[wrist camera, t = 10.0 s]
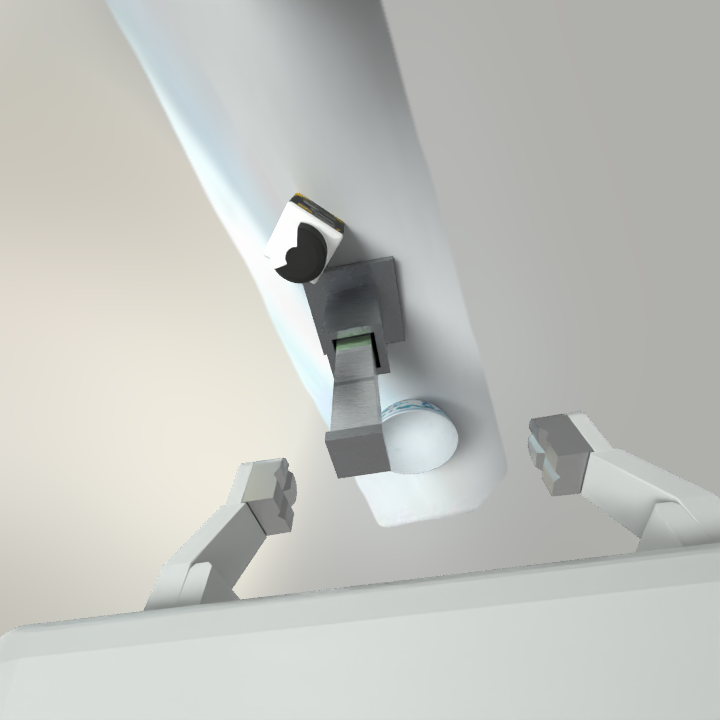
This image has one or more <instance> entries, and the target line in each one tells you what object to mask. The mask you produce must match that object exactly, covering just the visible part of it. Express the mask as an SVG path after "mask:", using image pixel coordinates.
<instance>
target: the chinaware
mask: <svg viewBox="0 0 720 720" xmlns="http://www.w3.org/2000/svg"><path fill="white" fill-rule="evenodd" d="M381 415H382V425H383V432H384V437H385V441H386V446H387V450H388V455H389V459H390V466H391V472H395V473H400V474H418V473H424V472H427V471H430V470H433V469H435V468H437V467H439V466H441V465H442V464H444V463H445V462H446V461H448V460H449V459H450V458H451V457H452V455H453V454H454V452H455V451H456V449H457V446H458V432H457V429H456V427H455V426H454V424H453V422H452V421H451V420H450V418H449V417H448V416H447V415H446V414H445V413H444V412H443V411H442V410H441V409H439V408H438V407H436V406H435V405H433V404H431V403H428V402H425V401H421V400H403V401H400V402H397V403H395V404H393V405H391V406H389V407H388V408H386V409H385V410H384V411H383V412H382V413H381Z"/></svg>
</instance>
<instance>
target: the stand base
mask: <svg viewBox="0 0 720 720" xmlns="http://www.w3.org/2000/svg"><path fill="white" fill-rule="evenodd" d="M303 286H304V289H305V293H306V296H307V299H308V303H309V306H310V309H311V313H312V316H313V319H314V323H315V326H316V329H317V333H318V336H319V339H320V343H321V346H322V349H323V353H324V355H326V354H327V356H328V359H329V363H330V366H331V370H332V373H333V376H334V374H335V360H336V346H337V339H339V338H345V337H350V336H356V335H361V334H367V333H372V334H373V339H374V347H375V357H376V367H377V375H379V374H385V373H390V367H389V361H388V355H387V348H386V344H388V343H393V342H399V341H405V335H404V329H403V322H402V315H401V308H400V302H399V295H398V288H397V281H396V274H395V268H394V261H393V257H392V256H389V257H384V258H379V259H374V260H369V261H364V262H359V263H354V264H349V265H344V266H339V267H334V268H329V269H325V270H324V271H323V272H322V274H321V276H320V277H319V279H318V281H317V282H316V283H315V284H312V283H311V282H307V283H303Z"/></svg>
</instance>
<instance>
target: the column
mask: <svg viewBox="0 0 720 720" xmlns="http://www.w3.org/2000/svg"><path fill="white" fill-rule="evenodd" d="M325 443H326V445H327V448H328V451H329V454H330V457H331V460H332V462H333V465H334V468H335V471H336V473H337V477H338V478H345V477H352V476H359V475H366V474H372V473H379V472H386V471H391V466H390V459H389V455H388V450H387V446H386V441H385V437H384V432H383V425H382V415H381V406H380V396H379V386H378V376H377V367H376V357H375V347H374V339H373V334H372V333H367V334H361V335H356V336H350V337H345V338H339V339H337V346H336V360H335V374H334V388H333V402H332V417H331V431H330V432H326V436H325Z"/></svg>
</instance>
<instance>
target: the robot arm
mask: <svg viewBox="0 0 720 720" xmlns="http://www.w3.org/2000/svg"><path fill="white" fill-rule="evenodd" d="M529 429H530V430H531V432H532V435H531V436H530V437H529V438H528V448H529V453H530V456H531V459H532V461H533V463H534V465H535V467H537V468H538V469H540V470H542V471H543V473H542V479H543V481H544V483H545V485H546V487H547V488H548V490H549V492H550V494H551V496H559V495H569V494H578V493H581V495H582V496H583V497H585V498H586V499H588V500H589V501H590V502H591V503H593V504H594V505H595V506H597V507H598V508H600V509H601V510H602V511H604V512H605V513H607V514H608V515H609V516H610V517H612V518H613V519H614V520H616V521H617V522H619V523H620V524H621V525H623V526H624V527H625V528H627V529H628V530H629V531H631V532H632V533H634V534H635V535H636V536H637V537H639V538H640V539H641V540H640V542H639V545H638V547H637V550H636V552H635V553H628V554H620V555H611V556H602V557H594V558H586V559H577V560H569V561H561V562H552V563H544V564H536V565H527V566H519V567H510V568H502V569H493V570H485V571H476V572H468V573H460V574H451V575H443V576H435V577H426V578H419V579H410V580H401V581H393V582H385V583H377V584H368V585H360V586H351V587H343V588H335V589H326V590H318V591H309V592H302V593H293V594H285V595H276V596H267V597H259V598H251V599H242V600H240V599H239V597H238V596H237V595H236V594H235V593H234V591H232V588H233V586H234V585H235V584H236V582H237V581H238V579H239V578H240V576H241V575H242V573H243V572H244V570H245V569H246V567H247V566H248V564H249V563H250V561H251V560H252V558H253V557H254V555H255V554H256V552H257V551H258V549H259V548H260V546H261V545H262V543H263V542H264V540H265V539H266V536H267V535H274V534H280V533H286V532H291V529H292V522H293V516H294V512H293V510H292V508H291V506H292V505H293V504H294V503H295V501H296V496H297V487H296V481H295V477H294V475H293V473H291V472H290V471H288V467H289V464H288V462H287V460H286V458H278V459H272V460H263V461H256V462H250V463H242V464H241V465H240V466H239V468H238V471H237V473H236V476H235V479H234V482H233V485H232V488H231V491H230V494H229V497H228V500H227V503H226V505H225V506H221V507H220V508H219V509H218V510H217V511H216V512H215V513H214V514H213V515H212V516H211V517H210V518H209V519H208V520H207V521H206V522H205V523H204V525H203V526H202V527H201V528H200V529H199V530H198V531H197V532H196V533H195V534H194V535H193V536H192V537H191V538H190V539H189V540H188V541H187V542H186V543H185V544H184V545H183V546H182V547H181V548H180V549H179V550H178V551H177V552H176V553H175V554H174V556H172V557H171V559H169V560H168V562H167V563H166V564H165V565H164V566H163V567H162V569H161V572H160V574H159V576H158V579H157V581H156V583H155V586H154V588H153V590H152V592H151V595H150V597H149V599H148V601H147V604H146V606H145V608H144V611H140V612H132V613H124V614H116V615H107V616H99V617H90V618H81V619H73V620H64V621H56V622H47V623H38V624H30V625H24V626H19V627H17V628H14V629H12V630H10V631H8V632H7V633H6V634H4V635H3V636H1V637H0V720H720V499H719V498H718V497H717V496H716V495H715V494H713V493H711V492H709V491H707V490H705V489H703V488H700V487H698V486H696V485H694V484H692V483H690V482H688V481H686V480H684V479H682V478H680V477H678V476H676V475H674V474H671V473H669V472H667V471H665V470H663V469H661V468H659V467H657V466H655V465H653V464H651V463H649V462H647V461H644V460H642V459H641V458H638V457H636V456H634V455H632V454H630V453H628V452H626V451H624V450H622V449H620V448H619V449H614V448H613V447H612V445H611V444H610V443H609V442H608V441H607V440H606V439H605V437H604V436H603V435H602V434H601V432H600V431H599V430H598V429H597V428H596V426H595V425H594V424H593V423H592V422H591V420H590V419H589V418H588V417H587V416H586V414H585V413H584V412H581V411H577V412H571V413H566V414H559V415H553V416H547V417H541V418H535V419H531V421H530V424H529Z"/></svg>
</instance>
